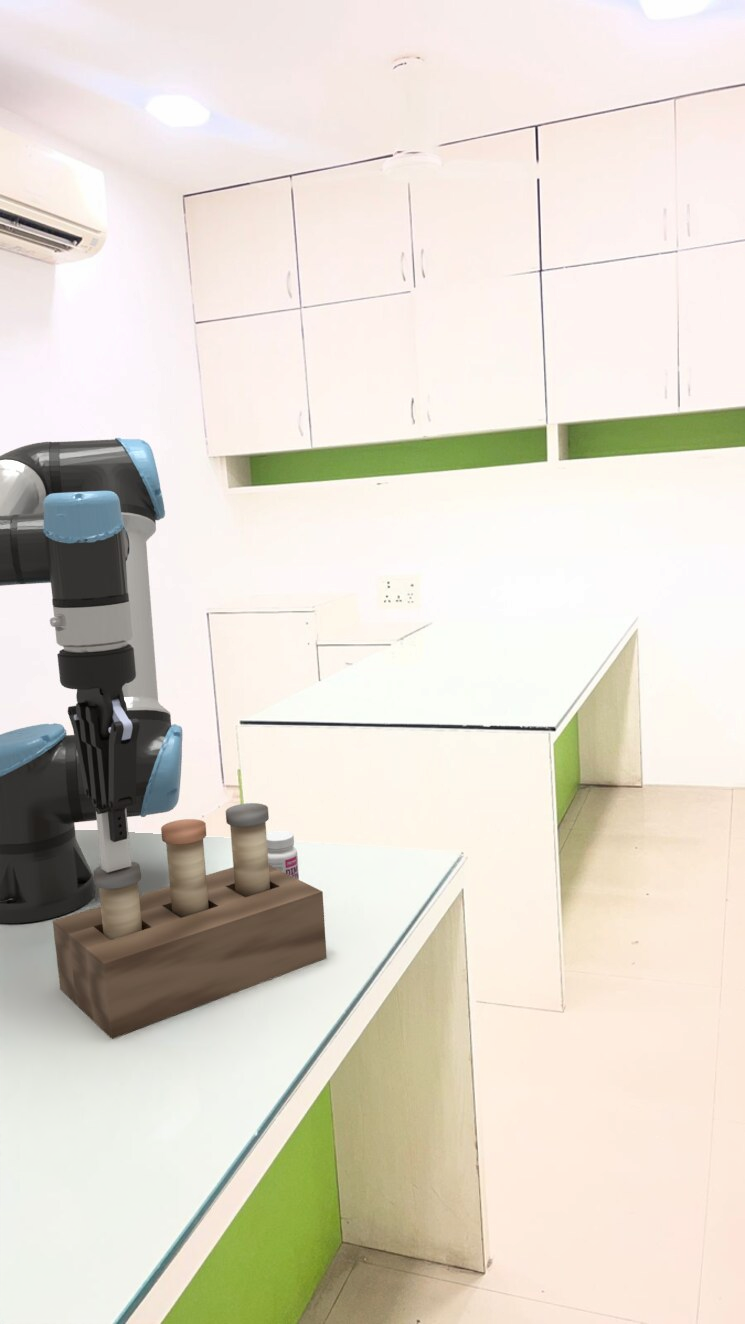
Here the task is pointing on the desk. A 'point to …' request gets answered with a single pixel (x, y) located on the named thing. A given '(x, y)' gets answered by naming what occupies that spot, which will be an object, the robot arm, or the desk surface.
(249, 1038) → the desk surface
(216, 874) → the socket board
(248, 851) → the plug
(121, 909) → the plug
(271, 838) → the pill bottle
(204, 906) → the plug middle
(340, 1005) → the desk surface
